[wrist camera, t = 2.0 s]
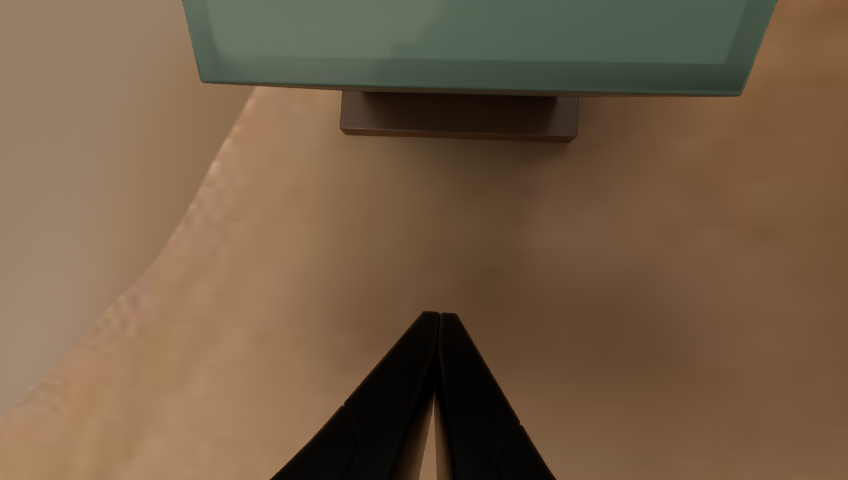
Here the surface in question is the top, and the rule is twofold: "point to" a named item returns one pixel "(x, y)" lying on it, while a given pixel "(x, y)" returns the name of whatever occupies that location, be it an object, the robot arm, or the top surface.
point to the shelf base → (460, 116)
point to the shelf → (482, 45)
